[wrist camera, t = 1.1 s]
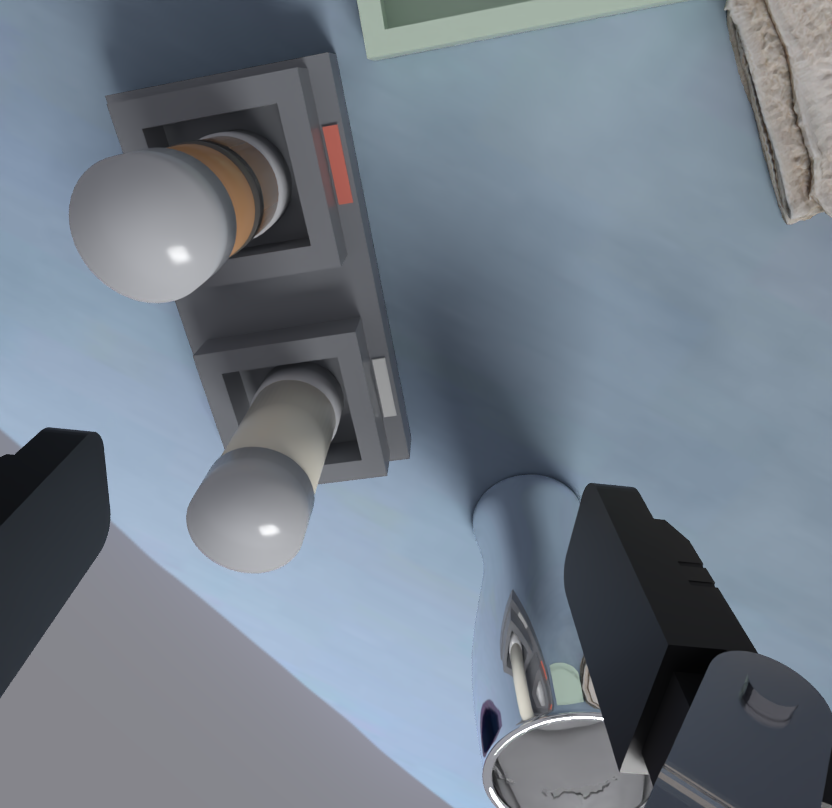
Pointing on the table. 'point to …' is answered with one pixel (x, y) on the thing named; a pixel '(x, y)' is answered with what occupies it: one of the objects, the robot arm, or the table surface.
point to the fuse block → (288, 257)
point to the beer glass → (537, 661)
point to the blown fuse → (176, 211)
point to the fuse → (268, 472)
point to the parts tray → (472, 20)
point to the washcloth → (789, 95)
